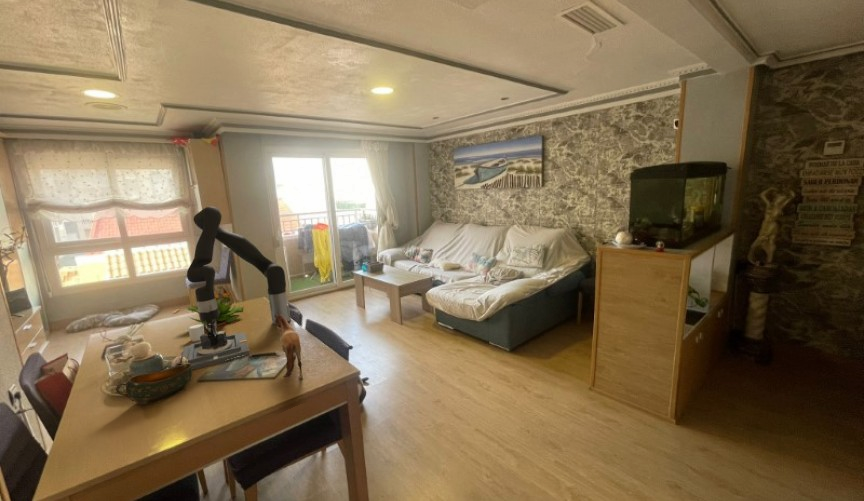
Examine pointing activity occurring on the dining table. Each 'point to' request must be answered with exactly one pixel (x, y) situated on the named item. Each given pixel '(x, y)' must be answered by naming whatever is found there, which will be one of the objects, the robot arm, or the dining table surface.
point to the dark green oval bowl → (157, 385)
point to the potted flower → (222, 311)
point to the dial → (208, 349)
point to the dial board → (201, 361)
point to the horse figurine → (289, 344)
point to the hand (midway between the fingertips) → (214, 343)
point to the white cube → (196, 331)
